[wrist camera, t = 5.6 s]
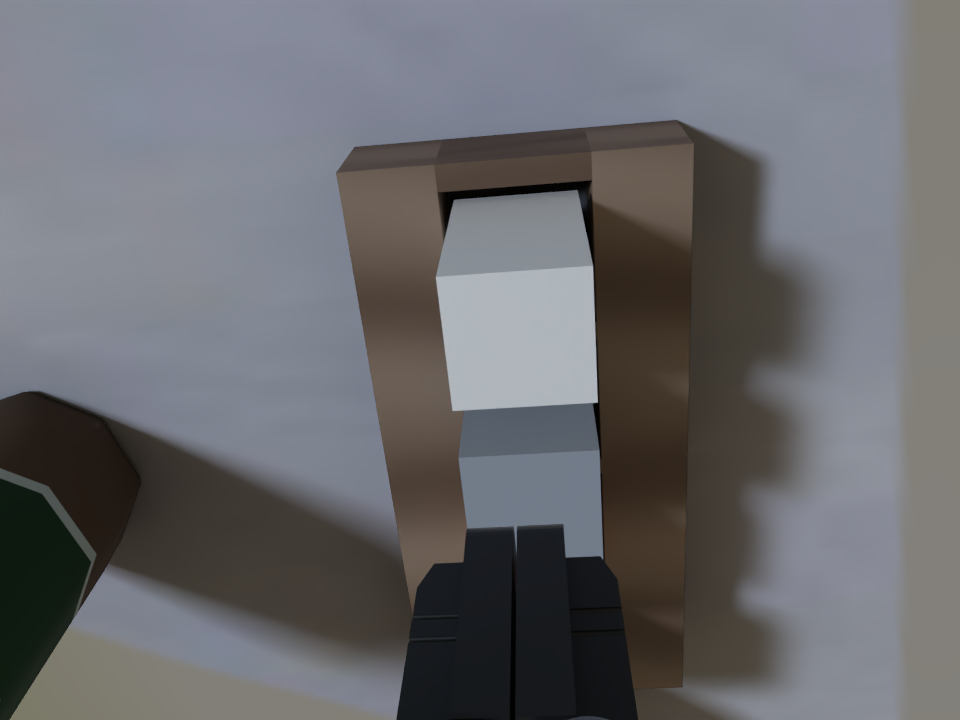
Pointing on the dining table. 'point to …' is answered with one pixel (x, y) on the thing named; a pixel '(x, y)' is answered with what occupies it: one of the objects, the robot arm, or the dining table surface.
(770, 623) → the dining table surface
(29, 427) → the beer bottle
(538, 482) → the key slate
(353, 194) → the brown wooden slotted tray
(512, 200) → the key ivory
